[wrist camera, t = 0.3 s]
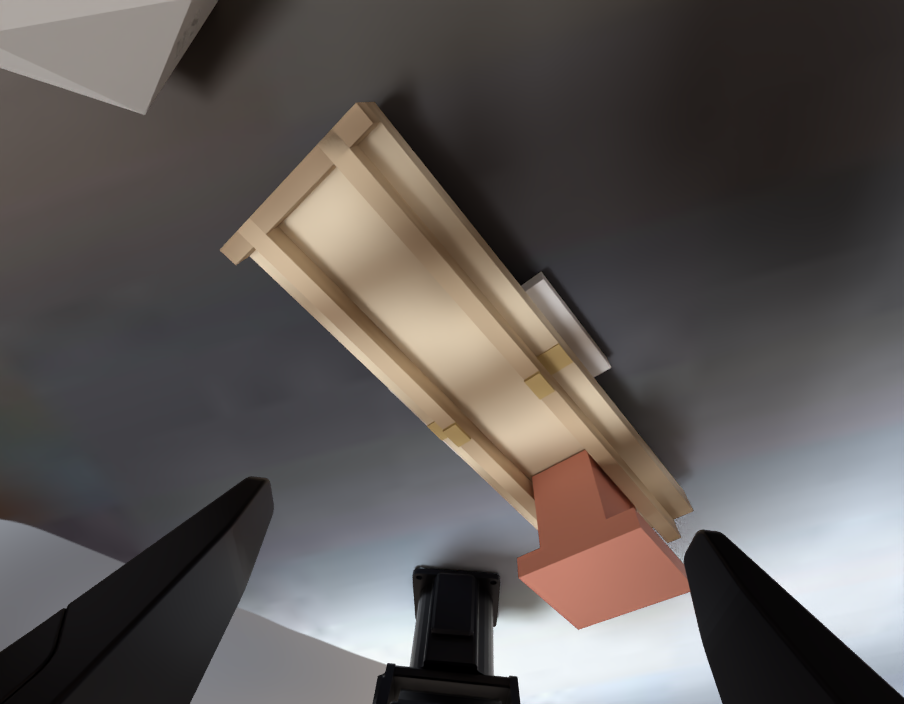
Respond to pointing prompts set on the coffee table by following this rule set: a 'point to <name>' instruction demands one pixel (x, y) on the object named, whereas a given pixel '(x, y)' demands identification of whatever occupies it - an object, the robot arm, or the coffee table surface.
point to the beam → (447, 318)
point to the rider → (595, 547)
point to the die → (100, 44)
